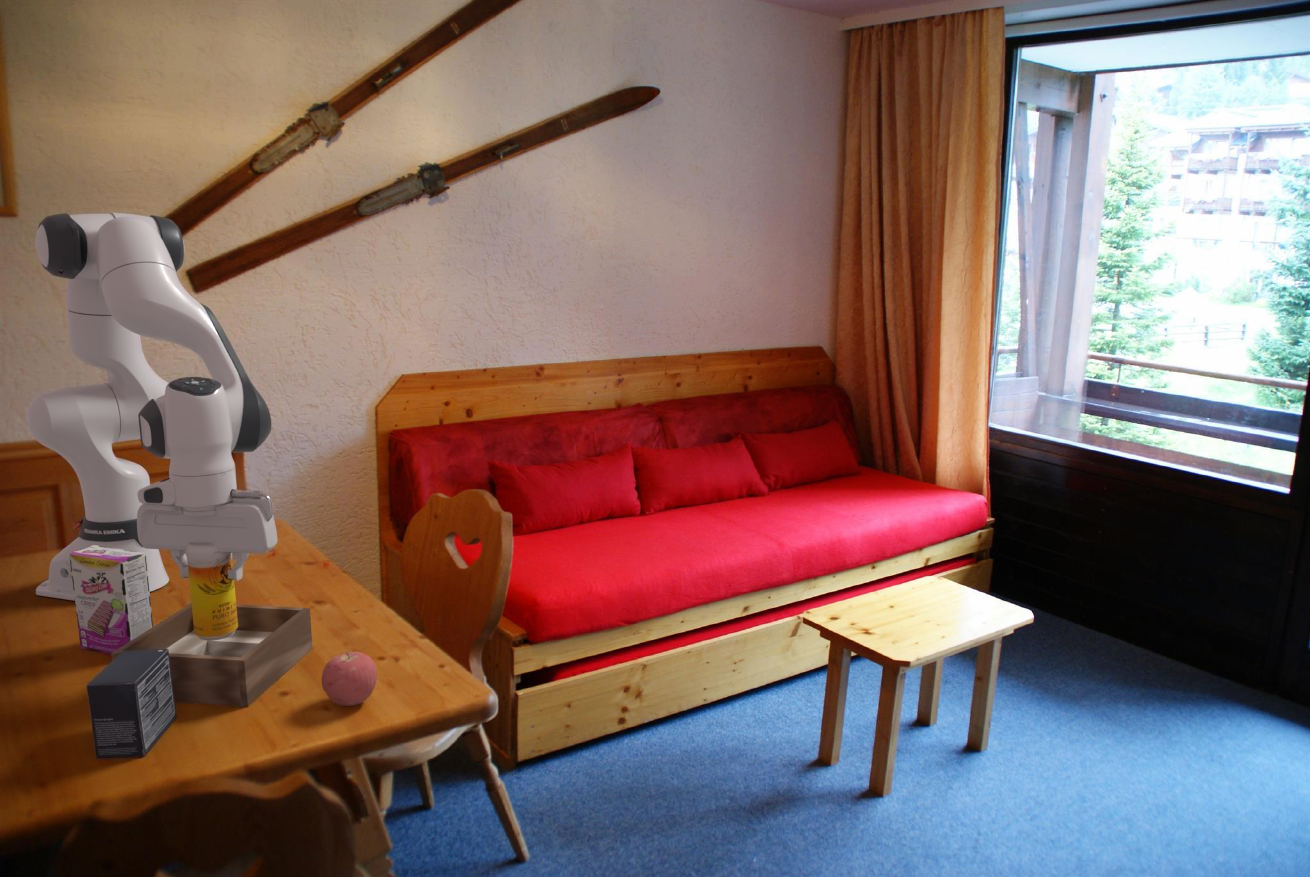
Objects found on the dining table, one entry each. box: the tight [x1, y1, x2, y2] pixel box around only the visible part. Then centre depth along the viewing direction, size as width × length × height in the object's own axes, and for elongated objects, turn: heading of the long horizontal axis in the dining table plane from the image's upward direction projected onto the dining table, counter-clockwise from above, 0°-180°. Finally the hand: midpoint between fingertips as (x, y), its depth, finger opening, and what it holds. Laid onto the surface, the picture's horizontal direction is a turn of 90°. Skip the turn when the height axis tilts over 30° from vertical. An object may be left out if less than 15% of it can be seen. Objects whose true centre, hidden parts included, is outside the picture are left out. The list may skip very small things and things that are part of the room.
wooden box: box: [110, 603, 313, 708], centre depth 146 cm, size 20×20×7 cm
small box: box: [86, 649, 178, 760], centre depth 126 cm, size 11×6×10 cm, turn 5°
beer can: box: [185, 543, 238, 641], centre depth 144 cm, size 6×6×15 cm
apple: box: [321, 651, 378, 707], centre depth 136 cm, size 7×7×8 cm
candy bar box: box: [69, 545, 154, 655], centre depth 153 cm, size 11×5×16 cm, turn 71°
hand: (211, 578), depth 144 cm, fingers closed on beer can, 6 cm apart
